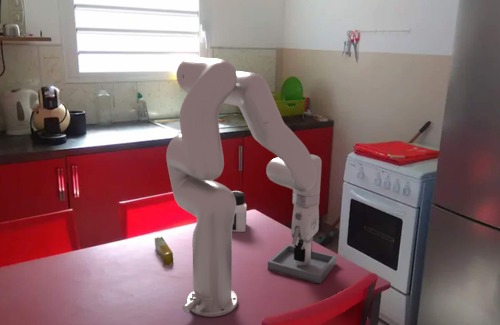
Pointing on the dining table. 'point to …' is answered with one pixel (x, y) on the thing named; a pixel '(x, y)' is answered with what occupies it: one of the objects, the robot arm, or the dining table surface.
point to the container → (239, 212)
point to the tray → (310, 272)
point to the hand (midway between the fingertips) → (302, 256)
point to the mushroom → (306, 252)
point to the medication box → (164, 250)
